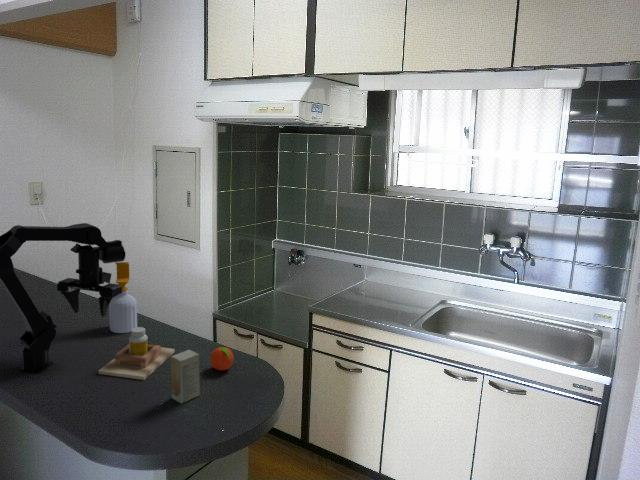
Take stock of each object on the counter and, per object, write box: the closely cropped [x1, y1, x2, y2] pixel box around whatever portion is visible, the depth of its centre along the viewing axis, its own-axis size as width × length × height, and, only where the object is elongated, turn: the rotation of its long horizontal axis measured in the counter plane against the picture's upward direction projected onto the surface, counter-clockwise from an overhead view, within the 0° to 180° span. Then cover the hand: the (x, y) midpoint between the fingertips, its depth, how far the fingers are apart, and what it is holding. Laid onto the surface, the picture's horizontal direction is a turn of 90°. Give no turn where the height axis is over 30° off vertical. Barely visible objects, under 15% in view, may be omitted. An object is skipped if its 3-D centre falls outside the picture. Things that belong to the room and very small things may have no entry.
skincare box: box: [170, 349, 200, 404], centre depth 139 cm, size 6×4×12 cm
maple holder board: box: [97, 343, 176, 381], centre depth 159 cm, size 20×14×4 cm
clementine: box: [209, 346, 235, 371], centre depth 156 cm, size 8×7×7 cm
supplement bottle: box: [128, 326, 149, 356], centre depth 158 cm, size 5×5×10 cm
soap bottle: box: [108, 261, 138, 334], centre depth 181 cm, size 9×9×25 cm
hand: (89, 314), depth 161 cm, fingers open, 9 cm apart
